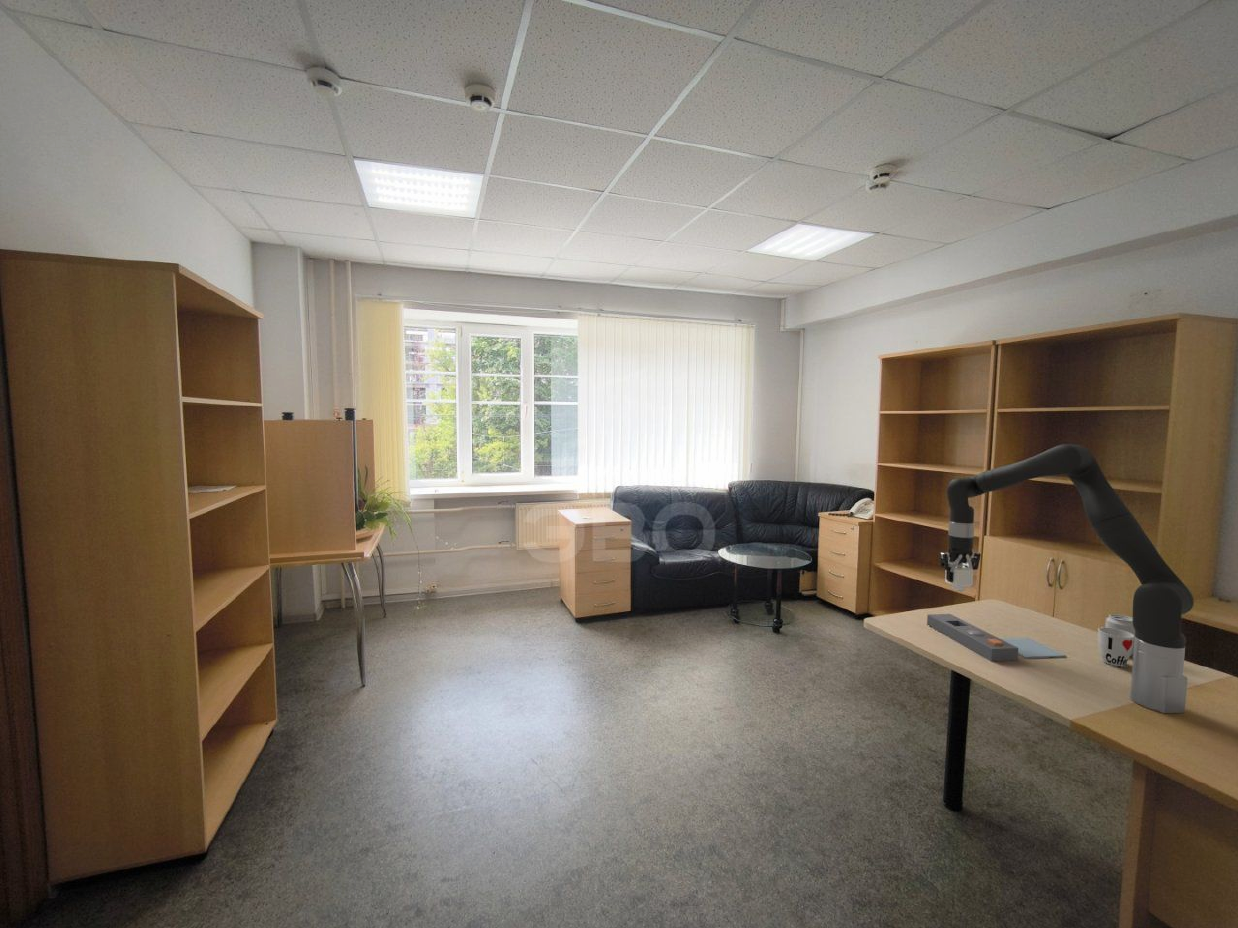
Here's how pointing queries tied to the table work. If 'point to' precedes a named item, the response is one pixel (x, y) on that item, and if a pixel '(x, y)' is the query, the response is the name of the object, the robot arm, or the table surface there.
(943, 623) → the power strip
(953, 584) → the block
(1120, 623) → the can
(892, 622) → the table surface
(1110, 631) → the cup
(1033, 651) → the mat
